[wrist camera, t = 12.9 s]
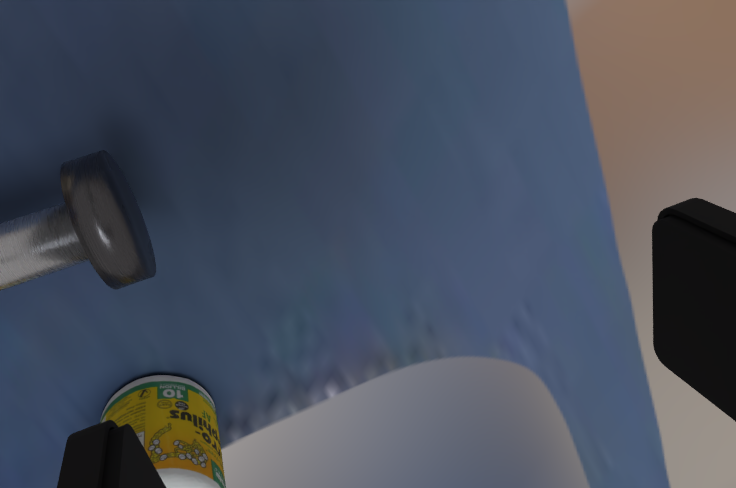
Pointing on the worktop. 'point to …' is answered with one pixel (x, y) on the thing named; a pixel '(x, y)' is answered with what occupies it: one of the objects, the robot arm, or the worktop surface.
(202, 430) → the supplement bottle
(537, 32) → the worktop surface
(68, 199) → the steel shaft
